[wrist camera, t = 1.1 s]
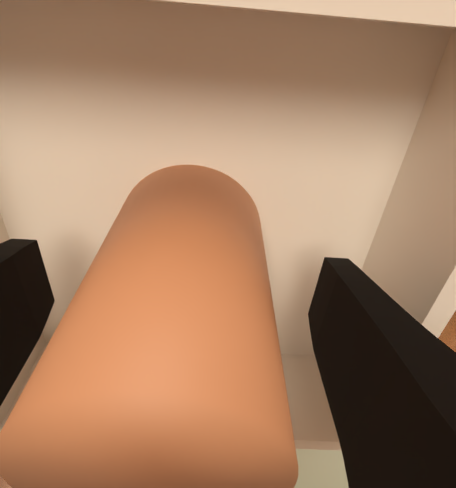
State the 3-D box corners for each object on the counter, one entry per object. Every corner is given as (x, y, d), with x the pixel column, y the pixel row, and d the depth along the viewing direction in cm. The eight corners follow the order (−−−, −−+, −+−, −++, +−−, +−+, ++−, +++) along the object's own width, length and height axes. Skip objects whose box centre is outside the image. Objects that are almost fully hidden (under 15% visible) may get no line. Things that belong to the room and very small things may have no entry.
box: (477, -1, 8) (658, -10, 5) (335, 355, 15) (366, 451, 12) (-105, -56, 7) (-378, -111, 4) (39, 341, 15) (-15, 437, 11)
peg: (269, 169, 10) (330, 403, 4) (252, 286, 12) (273, 532, 6) (114, 159, 10) (-62, 387, 4) (128, 279, 12) (36, 527, 6)
